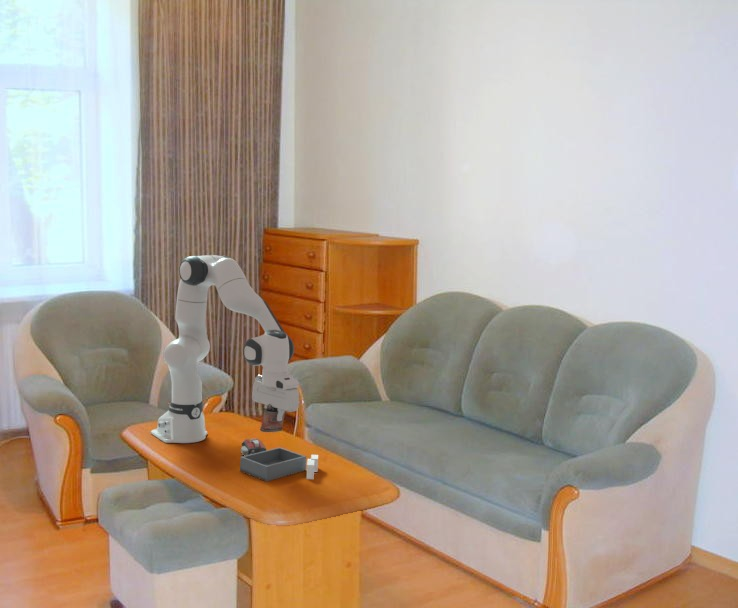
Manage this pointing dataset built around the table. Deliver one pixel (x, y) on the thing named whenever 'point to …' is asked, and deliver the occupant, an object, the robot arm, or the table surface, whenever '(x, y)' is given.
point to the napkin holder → (312, 466)
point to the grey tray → (272, 463)
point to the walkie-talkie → (252, 446)
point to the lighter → (271, 420)
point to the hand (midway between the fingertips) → (274, 419)
